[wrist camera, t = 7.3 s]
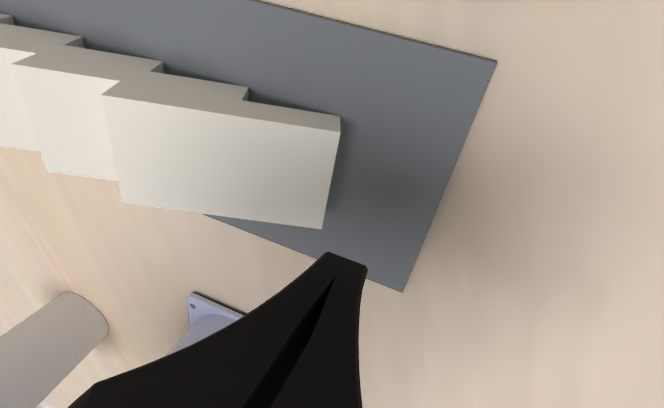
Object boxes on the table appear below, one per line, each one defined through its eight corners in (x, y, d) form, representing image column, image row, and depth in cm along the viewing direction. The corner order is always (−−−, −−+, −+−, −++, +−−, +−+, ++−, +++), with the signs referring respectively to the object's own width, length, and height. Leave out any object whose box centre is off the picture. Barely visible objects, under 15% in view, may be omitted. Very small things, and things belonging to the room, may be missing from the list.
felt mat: (403, 287, 20) (402, 292, 20) (-21, 122, 26) (-27, 124, 26) (496, 60, 13) (496, 63, 13) (-110, -93, 19) (-120, -94, 19)
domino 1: (149, 71, 17) (-73, 35, 16) (161, 168, 19) (-26, 142, 19) (162, 61, 18) (-42, 27, 17) (172, 153, 21) (-3, 128, 20)
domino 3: (340, 132, 15) (100, 95, 14) (321, 229, 18) (122, 203, 17) (339, 116, 16) (120, 80, 15) (322, 208, 19) (137, 183, 18)
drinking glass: (94, 295, 34) (-29, 396, 26) (123, 344, 37) (21, 447, 29) (45, 282, 36) (-82, 371, 28) (76, 330, 39) (-30, 422, 32)
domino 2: (241, 100, 16) (10, 63, 15) (239, 197, 18) (46, 171, 18) (248, 86, 17) (36, 53, 16) (245, 180, 20) (66, 155, 19)
